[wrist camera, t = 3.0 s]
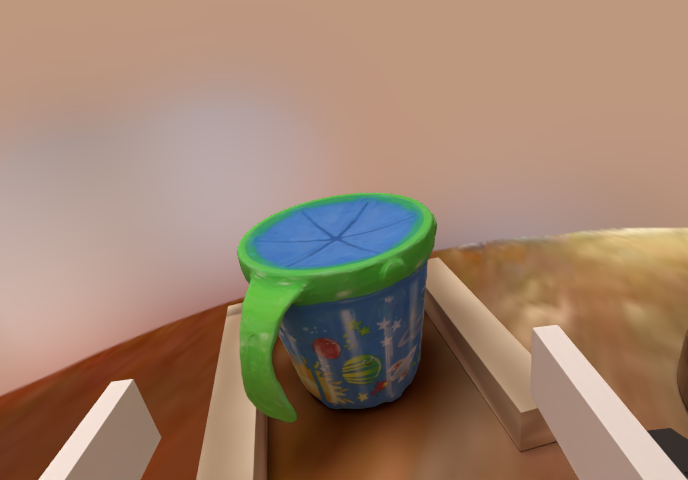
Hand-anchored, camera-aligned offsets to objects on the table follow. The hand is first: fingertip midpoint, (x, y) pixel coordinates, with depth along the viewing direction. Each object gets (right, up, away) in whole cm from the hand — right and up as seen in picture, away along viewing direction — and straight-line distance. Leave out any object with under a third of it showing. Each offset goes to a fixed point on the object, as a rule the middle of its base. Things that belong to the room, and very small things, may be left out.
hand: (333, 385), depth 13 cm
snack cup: (+1, -4, +12) cm, 13 cm away
